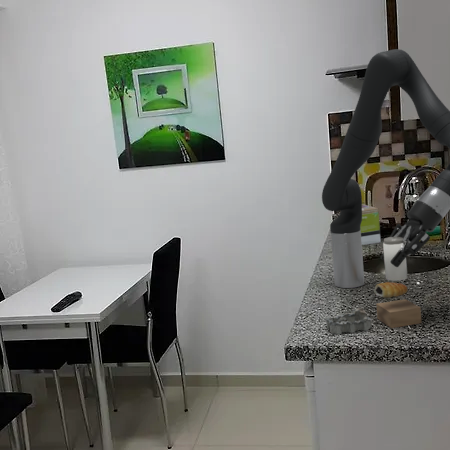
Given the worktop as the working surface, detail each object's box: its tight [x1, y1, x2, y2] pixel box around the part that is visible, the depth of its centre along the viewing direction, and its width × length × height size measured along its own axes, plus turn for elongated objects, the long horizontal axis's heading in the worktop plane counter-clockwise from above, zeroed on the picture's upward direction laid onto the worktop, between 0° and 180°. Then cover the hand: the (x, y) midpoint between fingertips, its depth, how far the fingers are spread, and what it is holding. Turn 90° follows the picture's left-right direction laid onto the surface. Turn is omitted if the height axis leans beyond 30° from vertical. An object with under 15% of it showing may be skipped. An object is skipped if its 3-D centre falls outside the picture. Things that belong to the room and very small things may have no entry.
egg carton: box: [324, 307, 373, 335], centre depth 147 cm, size 11×8×4 cm
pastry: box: [373, 281, 408, 299], centre depth 171 cm, size 9×7×4 cm
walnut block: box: [376, 298, 422, 329], centre depth 148 cm, size 8×8×4 cm
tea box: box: [360, 203, 382, 246], centre depth 248 cm, size 15×10×15 cm, turn 10°
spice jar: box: [382, 236, 408, 282], centre depth 146 cm, size 5×5×10 cm
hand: (388, 262), depth 146 cm, fingers closed on spice jar, 5 cm apart
